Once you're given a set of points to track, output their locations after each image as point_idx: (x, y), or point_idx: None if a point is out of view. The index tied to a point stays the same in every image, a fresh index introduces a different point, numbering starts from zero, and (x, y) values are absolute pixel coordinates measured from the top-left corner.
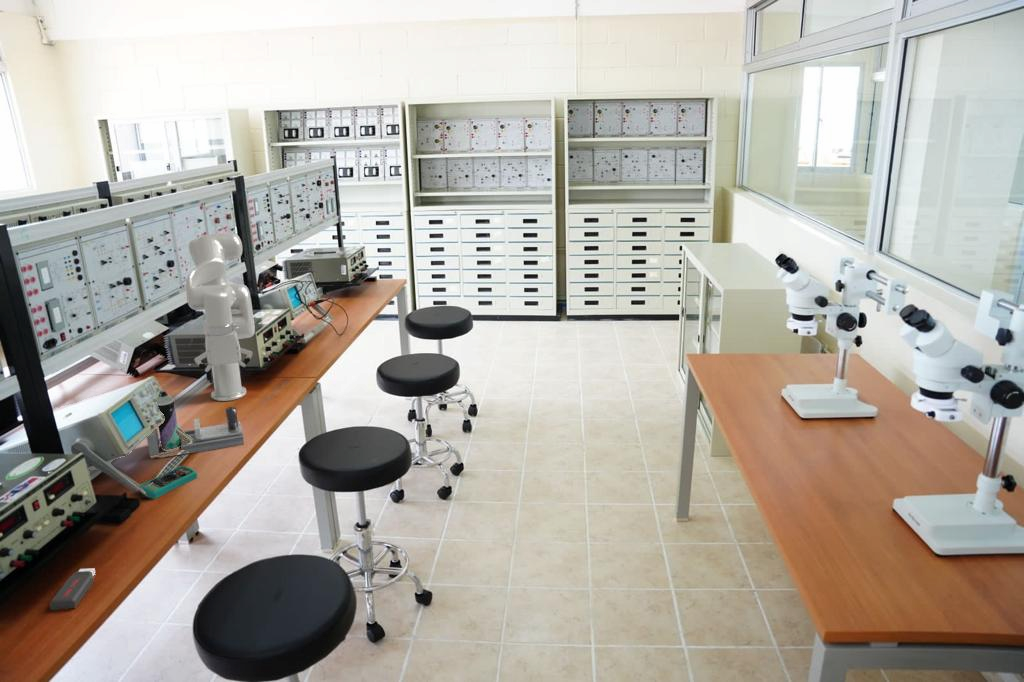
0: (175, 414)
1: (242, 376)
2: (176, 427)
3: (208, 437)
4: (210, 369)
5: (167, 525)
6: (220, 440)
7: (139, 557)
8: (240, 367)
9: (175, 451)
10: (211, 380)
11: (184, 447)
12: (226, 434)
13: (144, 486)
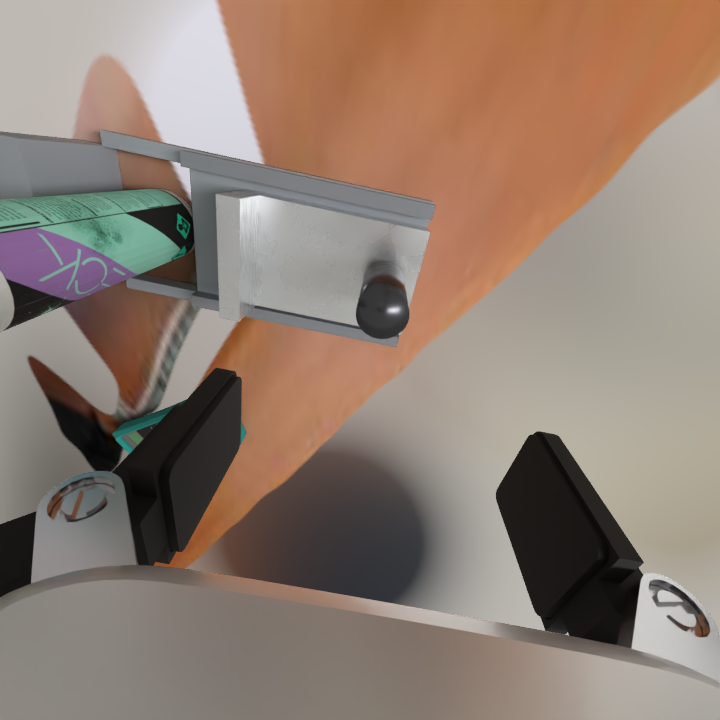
0: (94, 276)
1: (507, 519)
2: (140, 268)
3: (282, 310)
4: (169, 490)
5: (195, 532)
6: (321, 331)
7: (165, 566)
8: (553, 597)
9: (179, 297)
10: (225, 463)
11: (204, 307)
12: (345, 322)
13: (127, 439)
